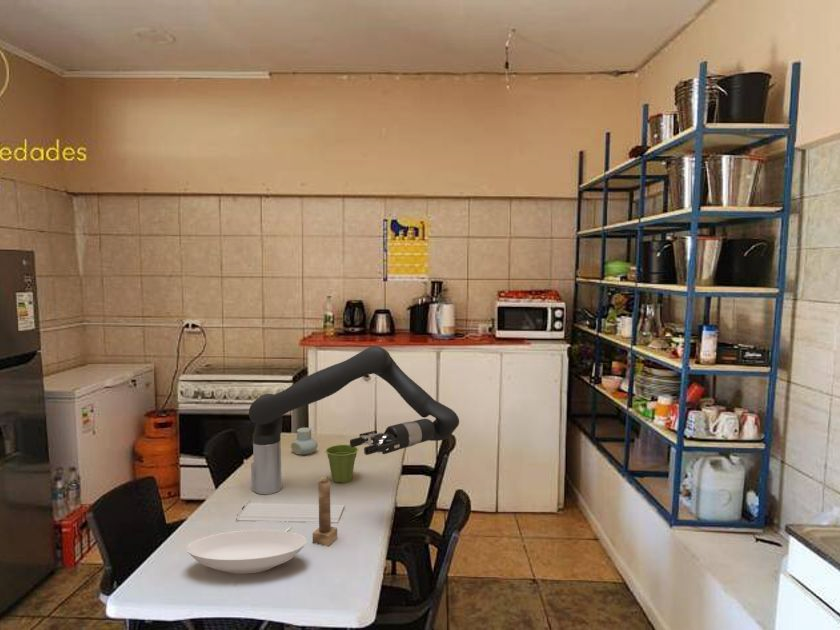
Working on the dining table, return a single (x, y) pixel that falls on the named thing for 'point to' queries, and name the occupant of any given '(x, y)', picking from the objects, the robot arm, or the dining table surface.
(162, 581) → the dining table surface
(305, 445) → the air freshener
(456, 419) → the robot arm
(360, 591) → the dining table surface
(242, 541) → the bowl
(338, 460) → the plant pot
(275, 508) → the baseboard molding
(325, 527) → the brown peg on stand
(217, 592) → the dining table surface
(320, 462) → the dining table surface
